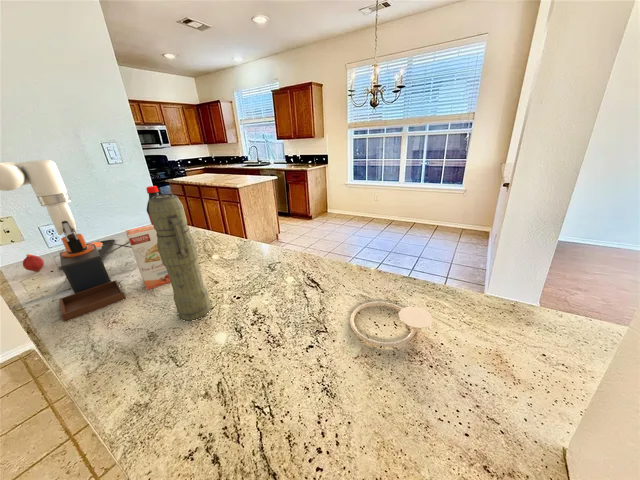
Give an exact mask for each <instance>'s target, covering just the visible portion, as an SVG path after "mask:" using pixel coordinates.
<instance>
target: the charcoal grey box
mask: <svg viewBox="0 0 640 480" xmlns="http://www.w3.org/2000/svg"><path fill="white" fill-rule="evenodd" d="M92 245H93V246H94V249H93V250H92V251H90V252H88V253H85V254H82V255H79V256H74V257H62V255H61V254H62V253H63V252H64V251H60V252H59V259H60V266H61V267H62V269H63V270H62V271H63V273H64V275H65V278H66V279H67V281H68V283H69V285H70V287H71V289H72V292H73V294H75V293H78V292H81V291H84V290H87V289H90V288H93V287H96V286H99V285H102V284H105V283H108V282H111V281H112V280H111V278H110V276H109V273H108V271H107V268H106V267H105V264H104V261H103V260H102V259H101V257H100V254H99V252H98V250H97V248H96V246H95V244H92Z"/></svg>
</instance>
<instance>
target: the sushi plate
mask: <svg viewBox="0 0 640 480" xmlns="http://www.w3.org/2000/svg"><path fill="white" fill-rule="evenodd" d="M115 242H116V239H105V240H101V241H95V242H91V243H90V242H89V243H86V245H92V244H95V246H96V248H97V250H98V252H99V254H100V257H101V259H102V261H103V260H104V258H105V257H106V256H107V255H108V254H111V253H112V252H114V251H116V250H118V249H120V248H122V247H125V248H130V249H132V247H131V245H128V244H130V241H129V240H128V241H127V242H126V243H124V244H119V243H115ZM113 246H118V247H116V248H115V249H113V250H111V249H112V248H113ZM110 250H111V251H110ZM59 270H60V271H61V270H62V271H63V269H62V267H61V265H60V266H59Z"/></svg>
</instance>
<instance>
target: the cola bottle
mask: <svg viewBox="0 0 640 480" xmlns="http://www.w3.org/2000/svg"><path fill="white" fill-rule="evenodd" d="M145 190H146V193H147V195H148V201H147V204H146V213H147V215H148V219H149V221H150V225H153V222H152V219H151V216H150V213H149V199H151V198H152V197H154V196H157V195H160V193H159V192H160V191H159V188H158V186H157V185H149V186H147V187H145Z"/></svg>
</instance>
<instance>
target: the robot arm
mask: <svg viewBox="0 0 640 480" xmlns="http://www.w3.org/2000/svg"><path fill="white" fill-rule="evenodd" d="M26 185H30V186H31V188H32V190H33V192H34V194H35V196H36V198H37V201H38V203H39V205H40V207H43V208H45V207H46V210H47V212H48V215H49V217H50V220H51V222H52V223H53V226H54V228H55V230H56V233H57V235H59V236H62V235H64V237H66V239H67V241H68V242H67V243H68V245H69V247H70V250H71V252H72V253H74V252H78V251H82V250H84V249H83V247H82V244H81V242H80V240H79V239H78V238H77V235H76V234H77V231H78V229H77V225H76V221H75V218H74V216H73V213H72V211H71V207H70V206H69V204H68V203H72V198H71V197H70V195H69V192H68V189H67V187H66V185H65V182H64V180H63V178H62V176H61V174H60V171H59V169H58V166H57V164H56V162H55V161H53V160H50V159H39V160H29V161H23V162H15V161H14V162H13V161H2V162H0V191H5V192H6V191H8V192H9V191H14V190H17V189H19V188H20V187H22V186H26Z"/></svg>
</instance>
